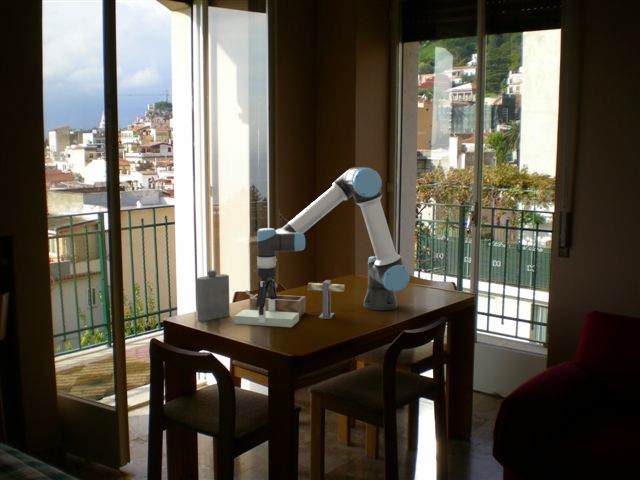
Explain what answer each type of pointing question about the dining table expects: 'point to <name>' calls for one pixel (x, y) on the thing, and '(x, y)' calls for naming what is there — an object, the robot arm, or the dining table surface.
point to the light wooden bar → (330, 287)
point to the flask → (212, 296)
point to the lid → (267, 318)
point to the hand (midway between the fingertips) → (267, 318)
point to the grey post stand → (326, 301)
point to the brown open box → (283, 304)
